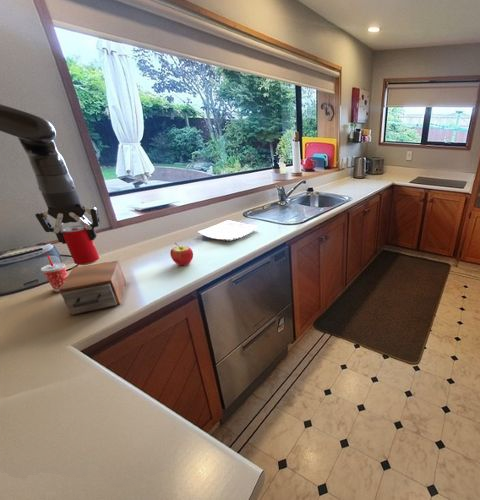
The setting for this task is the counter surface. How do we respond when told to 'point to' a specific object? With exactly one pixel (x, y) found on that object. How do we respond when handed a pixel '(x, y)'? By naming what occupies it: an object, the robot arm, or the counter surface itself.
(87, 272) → the cabinet
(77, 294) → the drawer
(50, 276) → the beverage cup
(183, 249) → the apple
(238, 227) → the plate
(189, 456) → the counter surface
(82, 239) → the beverage can
